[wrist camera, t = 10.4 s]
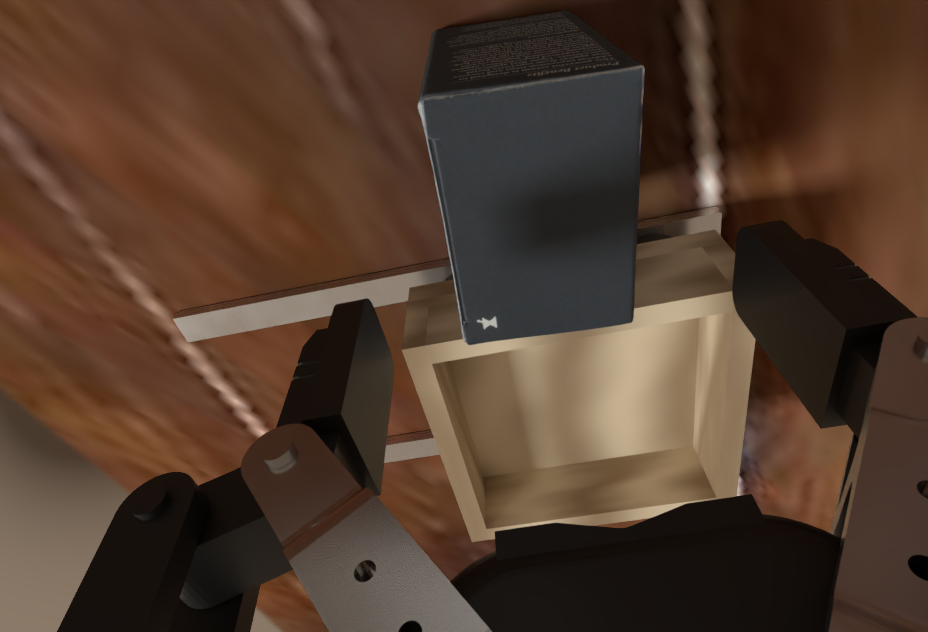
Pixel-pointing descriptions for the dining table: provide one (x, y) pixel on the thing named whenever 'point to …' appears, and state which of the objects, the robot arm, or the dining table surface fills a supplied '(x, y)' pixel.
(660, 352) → the light wooden open box
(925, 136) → the dining table surface
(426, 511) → the dining table surface
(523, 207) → the box
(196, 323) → the rails
